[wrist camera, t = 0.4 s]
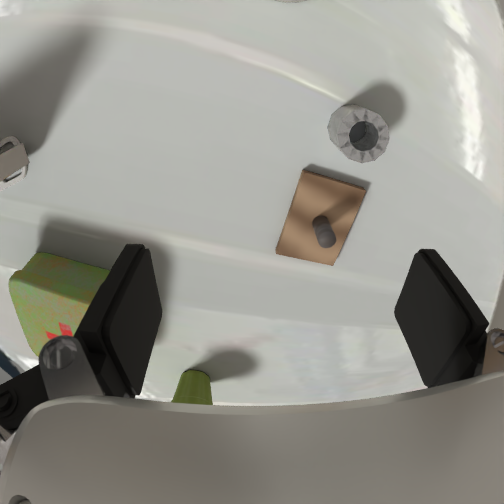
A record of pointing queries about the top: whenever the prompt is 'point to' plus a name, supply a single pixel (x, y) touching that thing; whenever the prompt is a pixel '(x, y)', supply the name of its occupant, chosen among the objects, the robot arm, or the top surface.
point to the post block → (319, 218)
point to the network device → (12, 162)
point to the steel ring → (369, 143)
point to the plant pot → (193, 389)
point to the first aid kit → (53, 296)
